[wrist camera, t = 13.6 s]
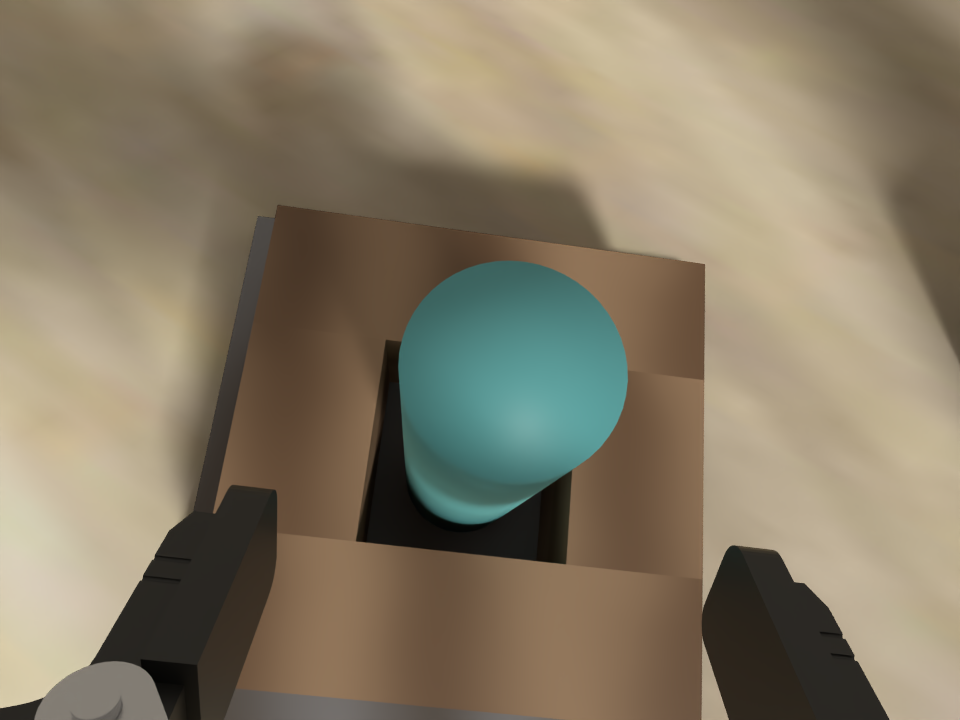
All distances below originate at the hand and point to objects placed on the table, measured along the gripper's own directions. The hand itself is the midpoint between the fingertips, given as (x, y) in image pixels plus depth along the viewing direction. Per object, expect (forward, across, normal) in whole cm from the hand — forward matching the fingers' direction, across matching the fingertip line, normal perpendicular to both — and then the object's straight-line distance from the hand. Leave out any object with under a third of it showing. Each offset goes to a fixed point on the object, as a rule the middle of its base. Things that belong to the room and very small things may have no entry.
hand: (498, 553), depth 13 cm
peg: (+11, 0, +7) cm, 13 cm away
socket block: (+12, 0, +8) cm, 14 cm away
